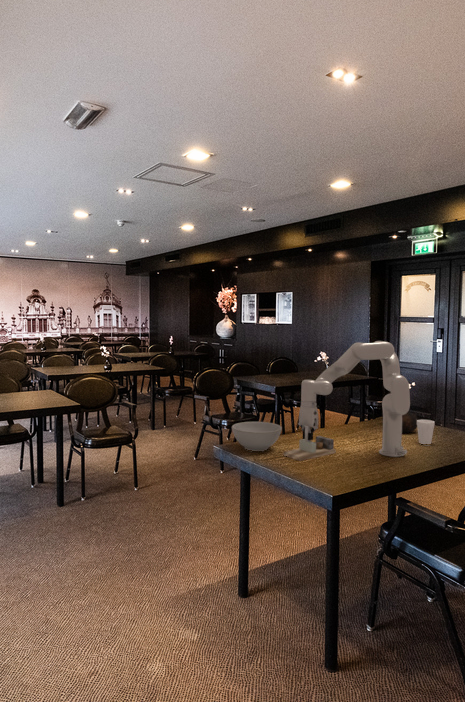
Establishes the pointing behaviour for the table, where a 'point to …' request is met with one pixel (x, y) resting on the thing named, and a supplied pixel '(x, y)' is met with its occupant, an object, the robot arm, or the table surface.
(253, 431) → the decorative bowl
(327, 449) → the base
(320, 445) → the walnut
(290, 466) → the table surface
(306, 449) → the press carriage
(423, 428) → the foam cup
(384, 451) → the robot arm
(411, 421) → the dark brown vase
